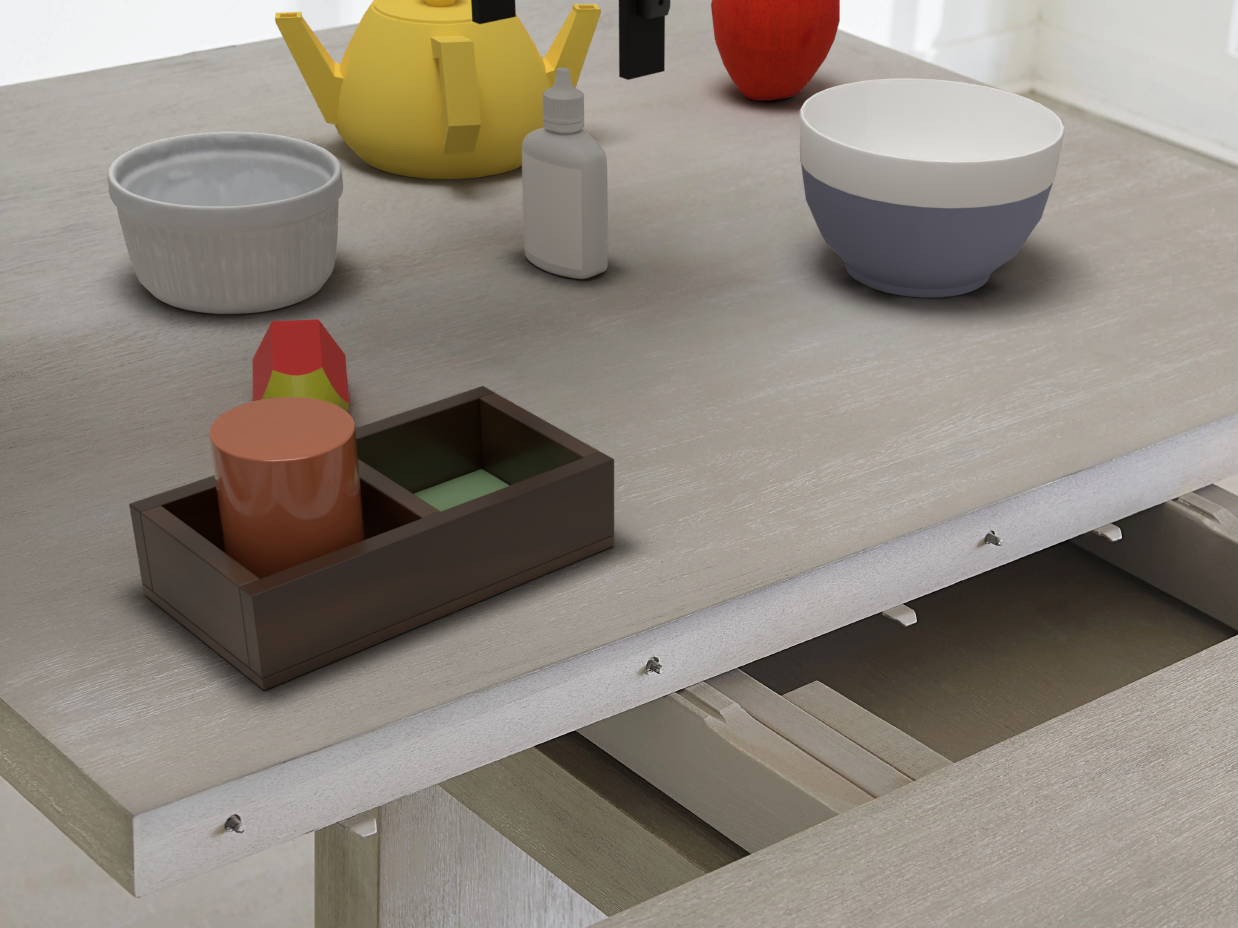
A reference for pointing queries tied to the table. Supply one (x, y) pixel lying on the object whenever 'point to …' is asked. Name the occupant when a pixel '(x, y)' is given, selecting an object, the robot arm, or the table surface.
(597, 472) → the divided wooden box
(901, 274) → the bowl
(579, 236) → the eye dropper bottle
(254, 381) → the pencil
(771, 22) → the apple
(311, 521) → the glossy orange cylinder
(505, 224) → the table surface
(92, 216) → the table surface
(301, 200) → the ramekin
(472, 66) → the teapot
